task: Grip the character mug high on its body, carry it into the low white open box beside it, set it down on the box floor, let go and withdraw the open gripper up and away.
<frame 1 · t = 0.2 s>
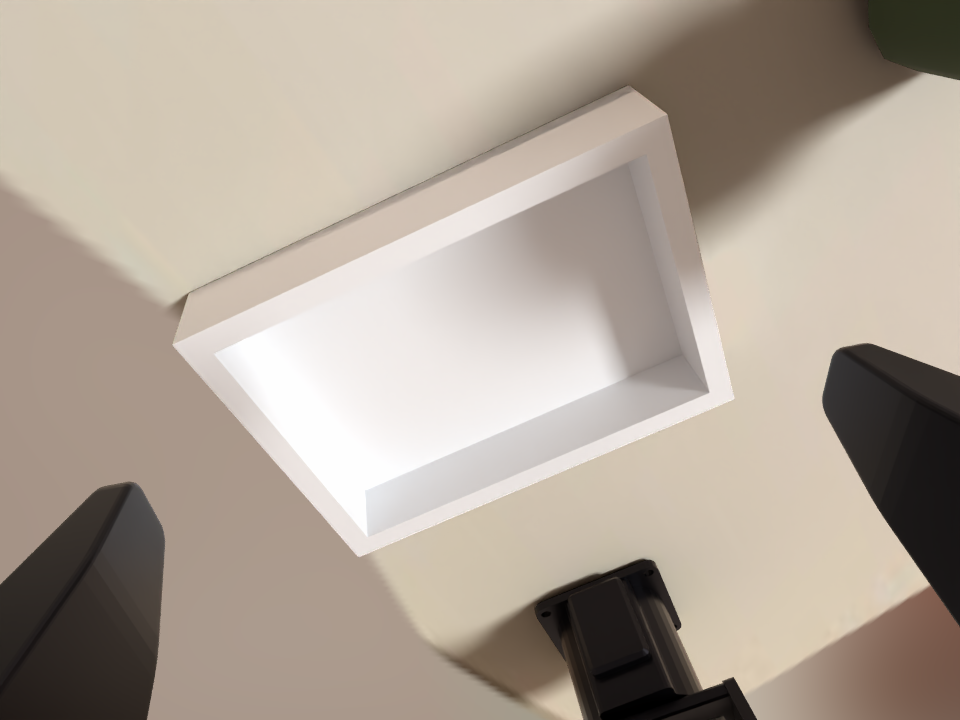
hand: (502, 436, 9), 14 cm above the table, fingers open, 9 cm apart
white open box: (470, 325, 25), on the table
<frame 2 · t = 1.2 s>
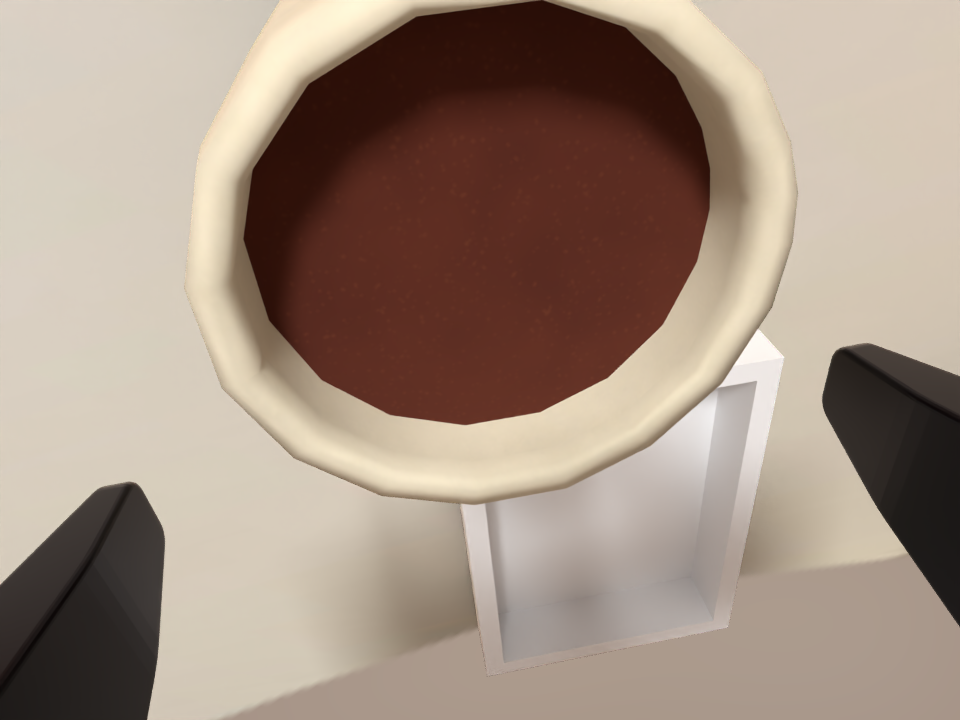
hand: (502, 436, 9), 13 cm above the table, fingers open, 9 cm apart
character mug: (412, 53, 19), on the table
white open box: (591, 484, 29), on the table
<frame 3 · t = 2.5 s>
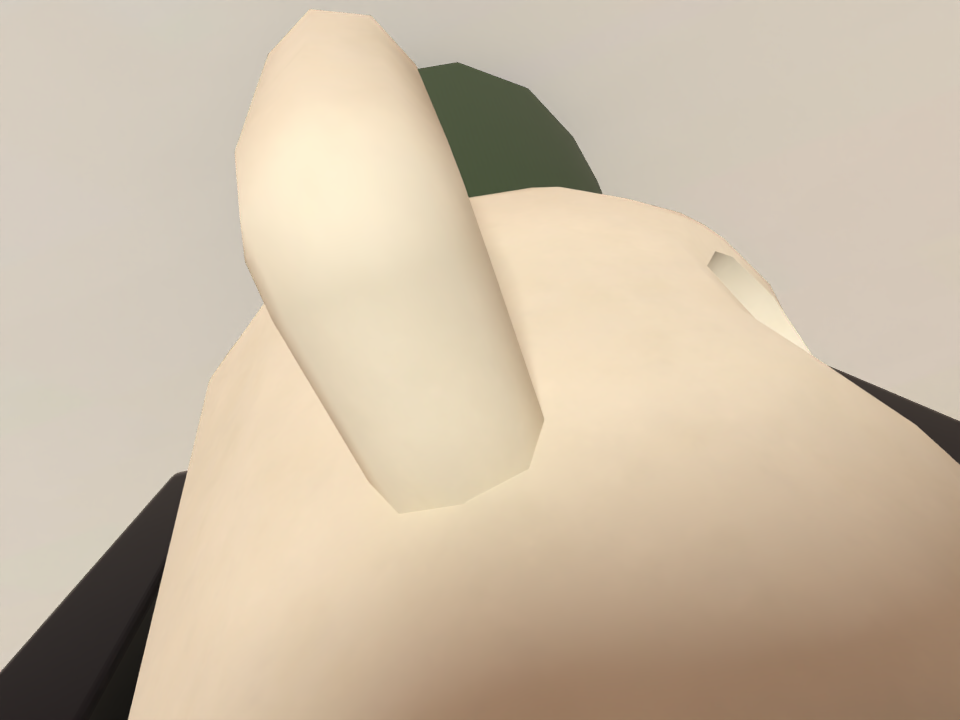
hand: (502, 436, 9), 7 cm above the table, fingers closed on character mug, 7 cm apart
character mug: (433, 211, 15), on the table, touching gripper
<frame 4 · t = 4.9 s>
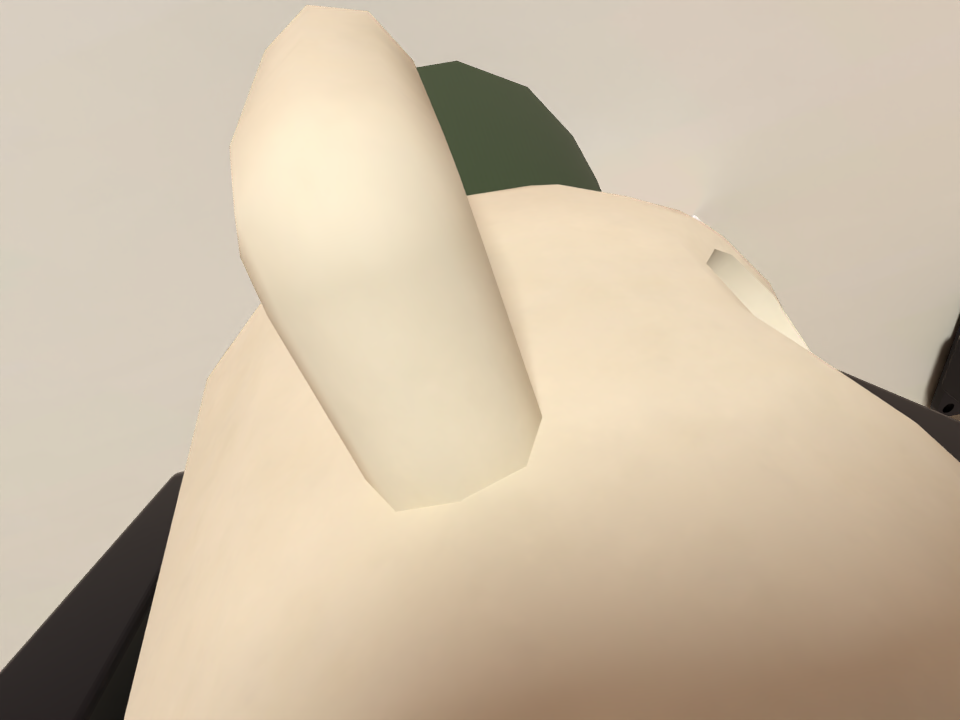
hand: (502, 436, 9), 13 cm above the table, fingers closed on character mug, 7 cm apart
character mug: (432, 210, 15), point 5 cm above the table, touching gripper
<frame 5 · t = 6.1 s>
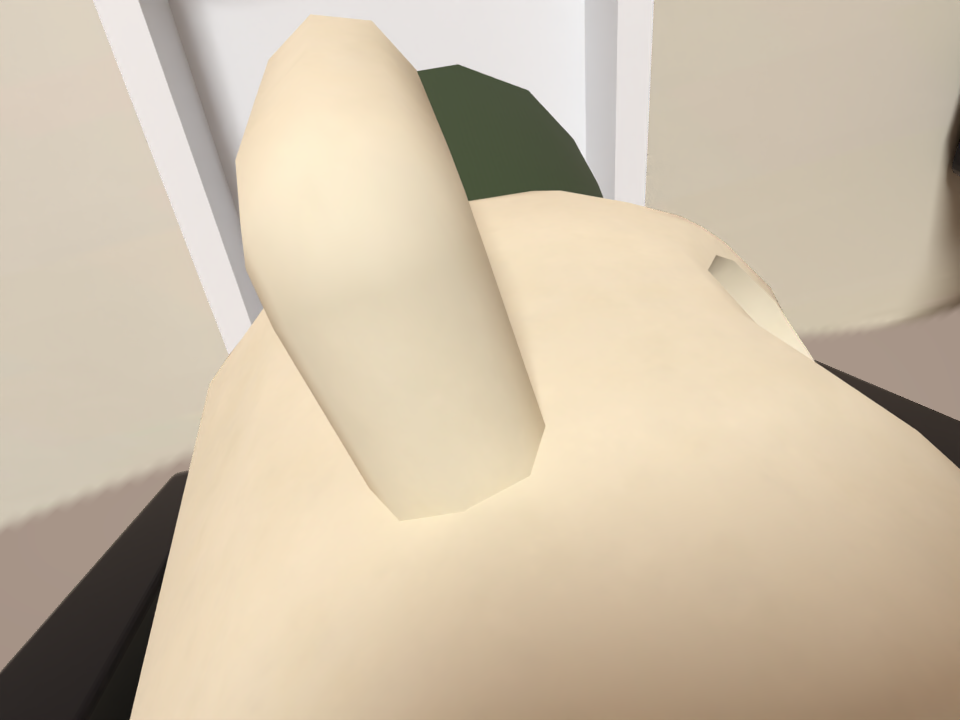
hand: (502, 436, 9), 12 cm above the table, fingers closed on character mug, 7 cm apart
character mug: (433, 212, 15), point 5 cm above the table, touching gripper
white open box: (407, 141, 19), on the table
when the fingers open (9 cm above the table, at t = 7.2 s): character mug drops 1 cm, resting on white open box.
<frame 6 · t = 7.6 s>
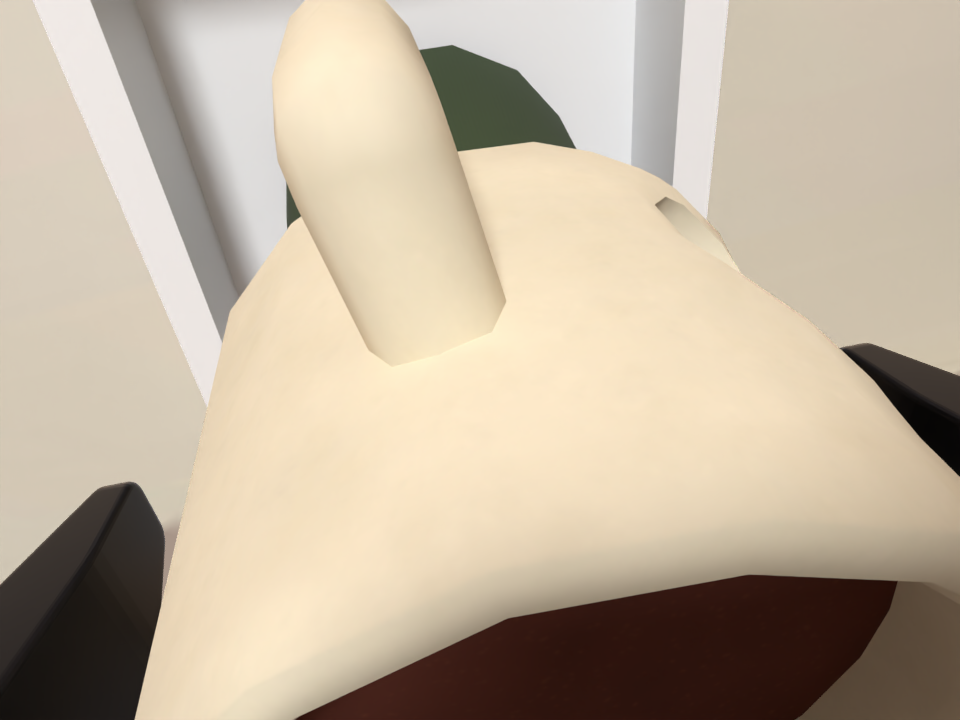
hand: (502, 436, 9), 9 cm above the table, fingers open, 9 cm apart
character mug: (429, 185, 16), resting on white open box
white open box: (424, 182, 16), on the table
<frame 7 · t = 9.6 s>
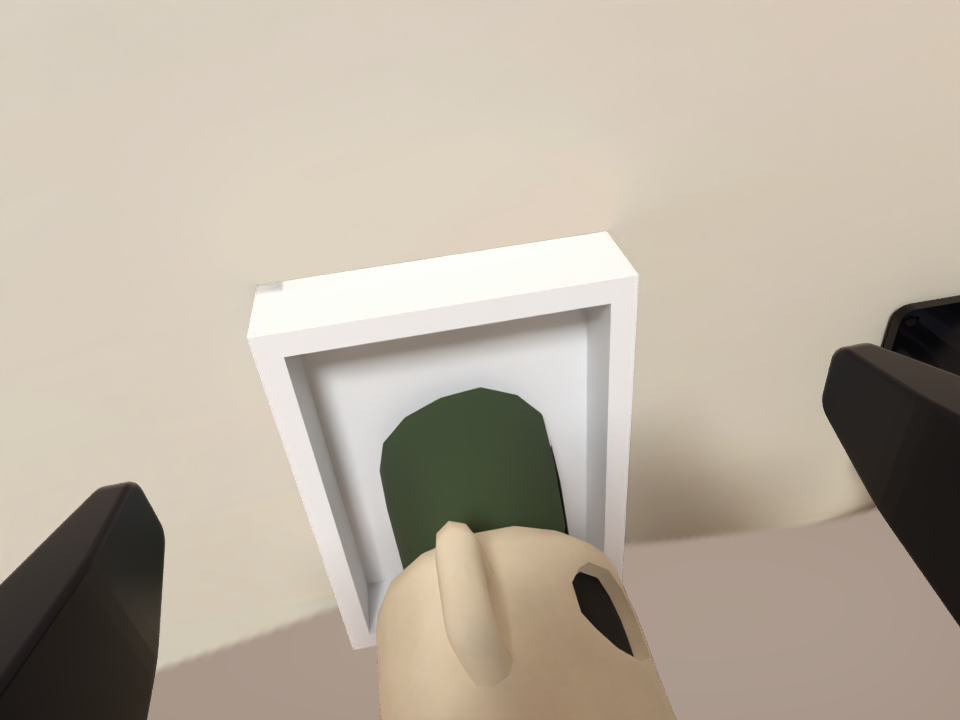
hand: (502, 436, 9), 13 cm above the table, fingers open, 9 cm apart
character mug: (463, 441, 26), resting on white open box
white open box: (460, 436, 26), on the table
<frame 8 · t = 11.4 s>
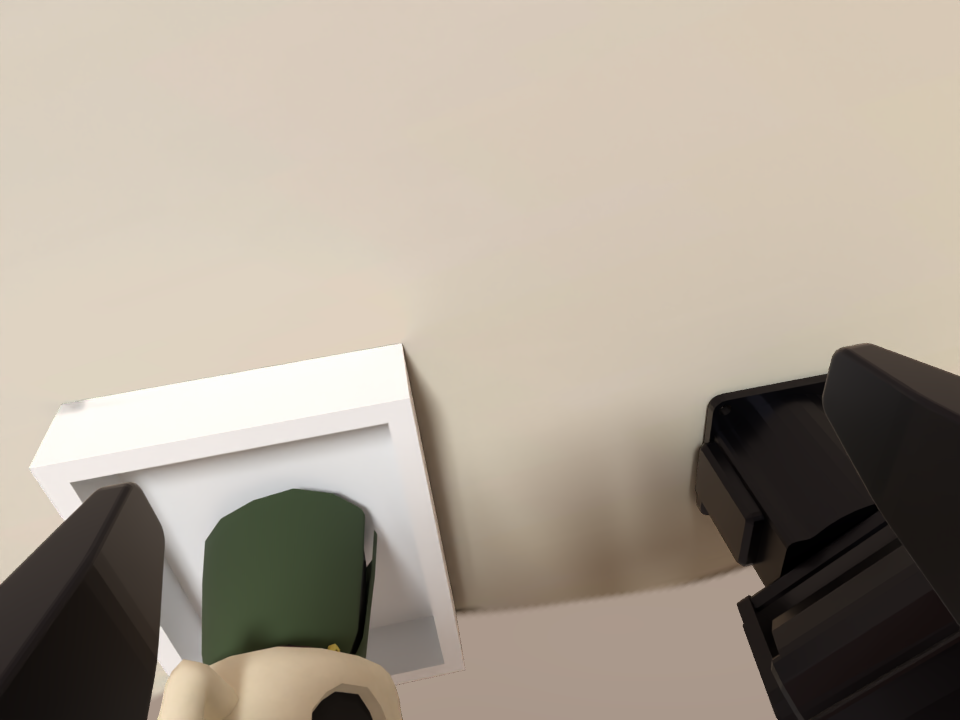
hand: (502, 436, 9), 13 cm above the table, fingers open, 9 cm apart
character mug: (294, 531, 27), resting on white open box
white open box: (293, 525, 27), on the table
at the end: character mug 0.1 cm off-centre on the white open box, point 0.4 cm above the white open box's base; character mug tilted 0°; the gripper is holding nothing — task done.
